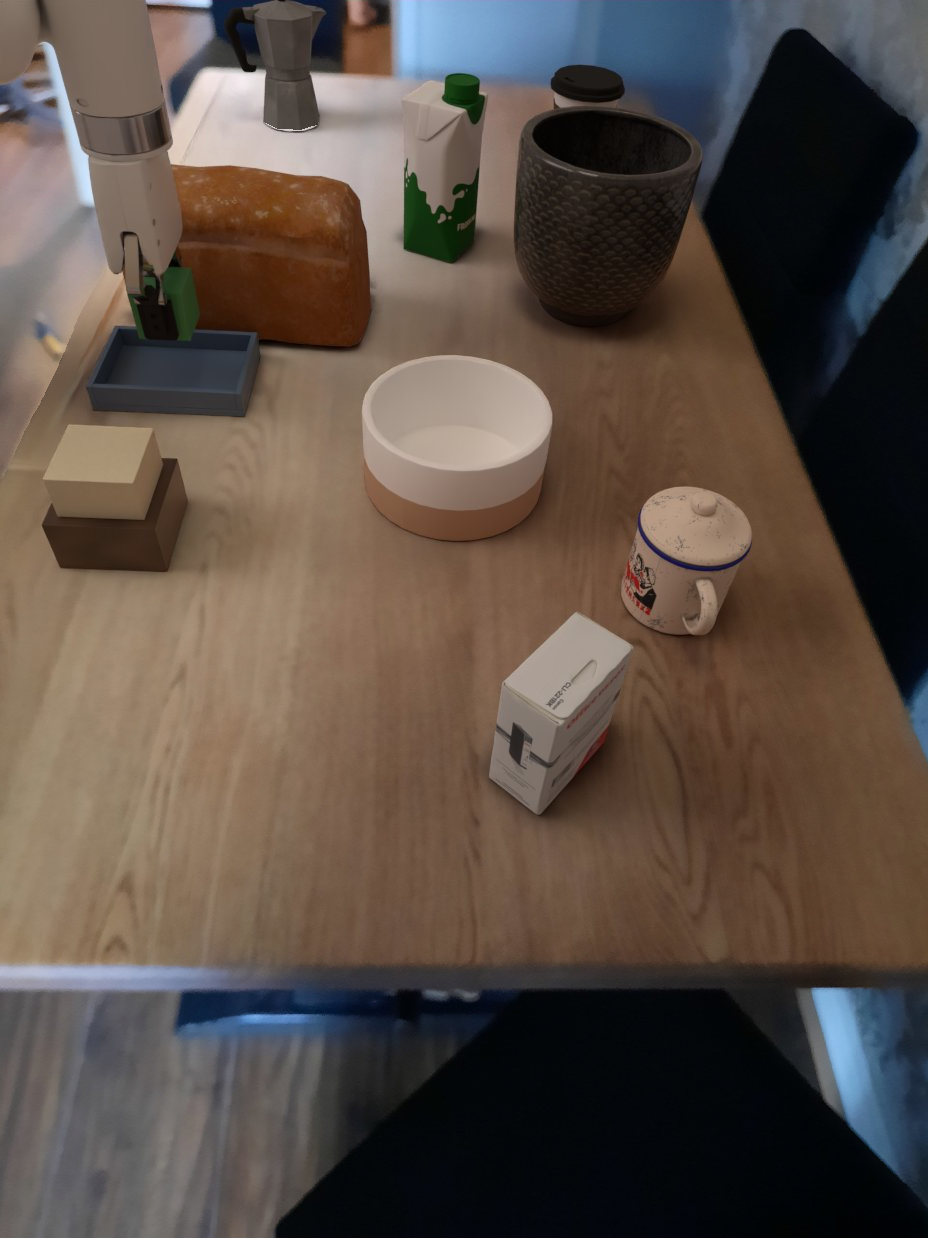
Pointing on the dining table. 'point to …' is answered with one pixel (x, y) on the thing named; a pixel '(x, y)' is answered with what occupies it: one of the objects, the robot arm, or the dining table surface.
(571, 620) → the ink box
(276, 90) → the coffeepot
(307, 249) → the bread
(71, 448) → the cream block
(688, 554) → the teacup with lid
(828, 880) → the dining table surface
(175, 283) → the green block
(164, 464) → the walnut block
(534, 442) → the bowl
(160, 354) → the tray
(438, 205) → the milk carton
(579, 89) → the coffee cup
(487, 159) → the dining table surface
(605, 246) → the planter
